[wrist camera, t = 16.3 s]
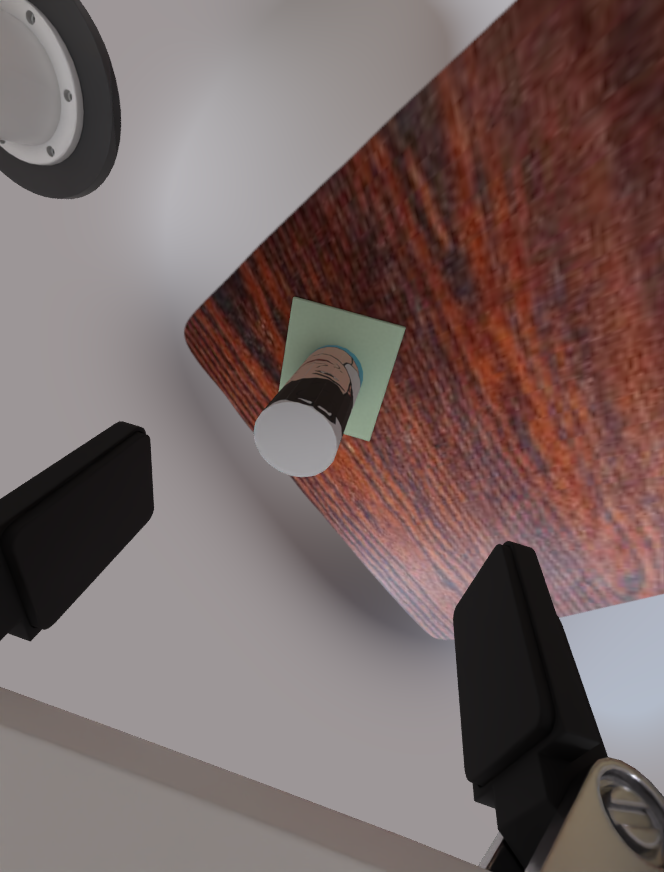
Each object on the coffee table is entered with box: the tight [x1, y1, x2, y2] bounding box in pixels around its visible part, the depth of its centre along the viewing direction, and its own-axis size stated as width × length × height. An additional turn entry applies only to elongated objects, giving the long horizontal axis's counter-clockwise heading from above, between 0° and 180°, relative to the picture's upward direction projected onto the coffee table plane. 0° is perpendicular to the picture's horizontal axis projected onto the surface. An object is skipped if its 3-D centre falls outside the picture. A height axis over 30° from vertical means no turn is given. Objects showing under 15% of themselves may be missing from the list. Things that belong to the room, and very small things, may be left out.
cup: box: [254, 345, 363, 477], centre depth 35 cm, size 7×7×15 cm
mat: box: [279, 297, 406, 441], centre depth 42 cm, size 12×14×1 cm
